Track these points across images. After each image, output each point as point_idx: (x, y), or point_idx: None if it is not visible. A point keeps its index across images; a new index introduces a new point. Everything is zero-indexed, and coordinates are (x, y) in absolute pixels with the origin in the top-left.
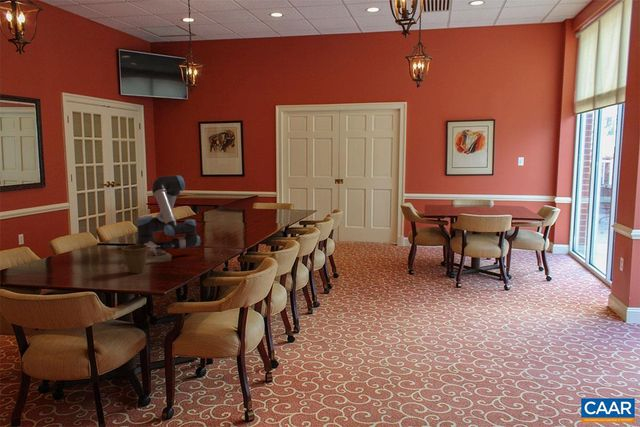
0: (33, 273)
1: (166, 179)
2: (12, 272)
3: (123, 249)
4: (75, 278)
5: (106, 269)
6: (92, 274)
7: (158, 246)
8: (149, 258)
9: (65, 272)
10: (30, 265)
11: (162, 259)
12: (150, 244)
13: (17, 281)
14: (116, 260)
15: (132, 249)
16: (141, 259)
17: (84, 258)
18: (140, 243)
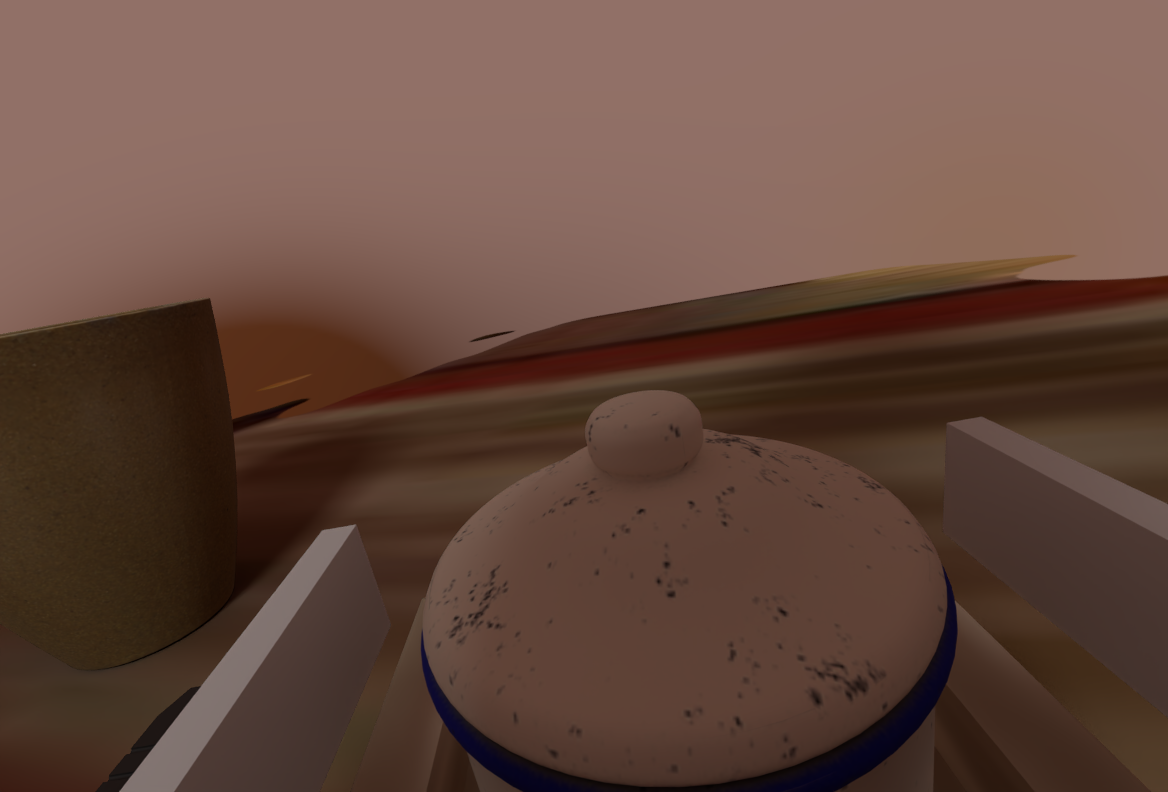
0: (664, 322)
1: None
2: (721, 299)
3: (109, 315)
4: (436, 399)
5: (526, 454)
6: (451, 425)
7: (157, 783)
8: (380, 733)
9: (606, 363)
10: (841, 292)
11: None
12: (527, 497)
13: (560, 328)
14: (900, 467)
15: (185, 361)
16: None
17: (1027, 342)
18: None
